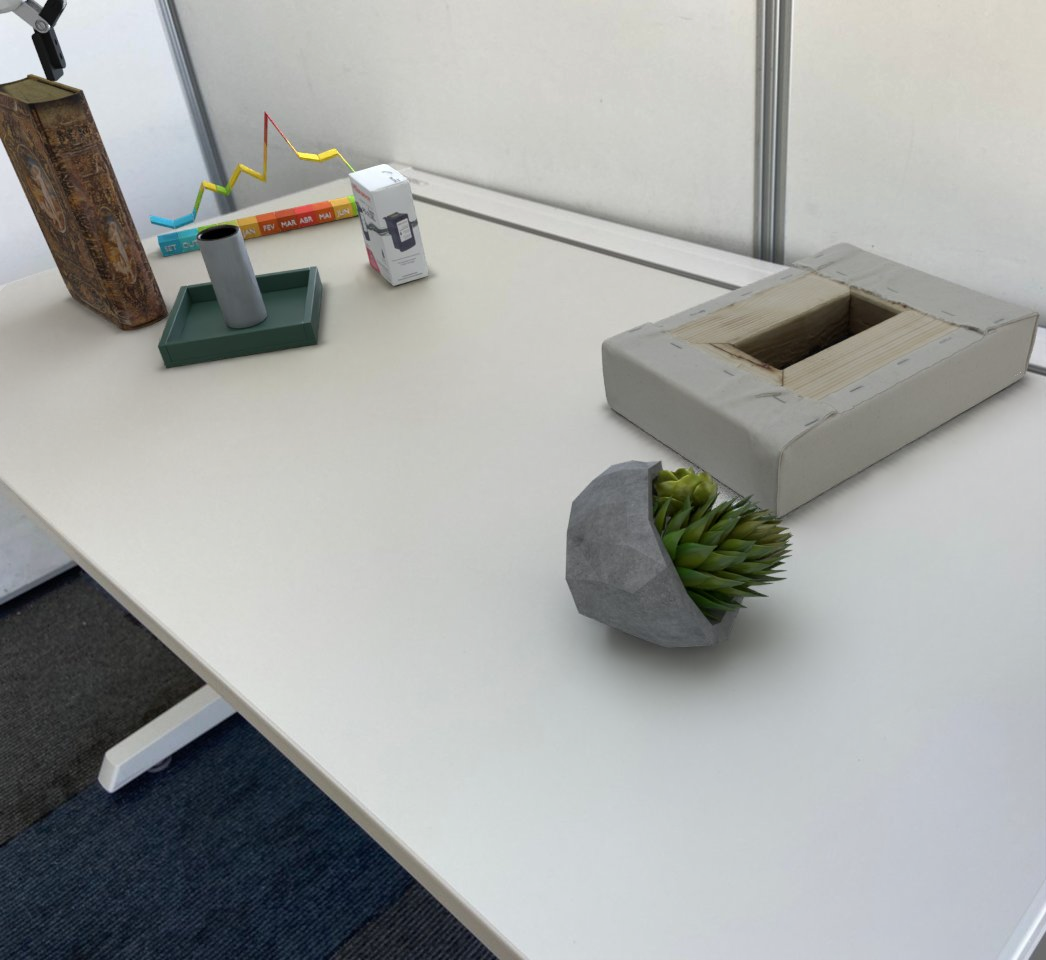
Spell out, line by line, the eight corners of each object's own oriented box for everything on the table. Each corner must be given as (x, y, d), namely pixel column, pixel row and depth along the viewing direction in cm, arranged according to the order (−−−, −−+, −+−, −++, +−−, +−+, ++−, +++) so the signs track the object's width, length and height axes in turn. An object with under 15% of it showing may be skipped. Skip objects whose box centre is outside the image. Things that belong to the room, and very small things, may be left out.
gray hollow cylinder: (251, 307, 112) (223, 221, 106) (276, 315, 110) (248, 228, 104) (217, 323, 110) (186, 235, 104) (242, 332, 107) (211, 243, 101)
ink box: (368, 265, 122) (345, 171, 115) (405, 254, 124) (385, 161, 117) (392, 287, 116) (369, 190, 109) (431, 276, 118) (411, 179, 111)
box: (781, 528, 75) (1031, 377, 90) (781, 444, 70) (1044, 299, 85) (602, 415, 90) (841, 302, 105) (593, 340, 86) (843, 233, 101)
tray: (166, 368, 103) (157, 346, 101) (188, 306, 115) (180, 286, 114) (316, 344, 105) (310, 322, 104) (322, 286, 118) (316, 265, 116)
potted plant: (612, 492, 74) (806, 460, 69) (621, 663, 71) (826, 644, 65) (535, 454, 63) (759, 413, 58) (542, 654, 60) (779, 630, 54)
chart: (163, 257, 129) (120, 142, 120) (162, 249, 131) (120, 135, 122) (390, 209, 138) (365, 98, 129) (385, 202, 140) (360, 93, 132)
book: (173, 315, 114) (88, 91, 99) (127, 333, 110) (32, 105, 96) (114, 281, 123) (28, 72, 108) (70, 297, 120) (-24, 84, 105)
